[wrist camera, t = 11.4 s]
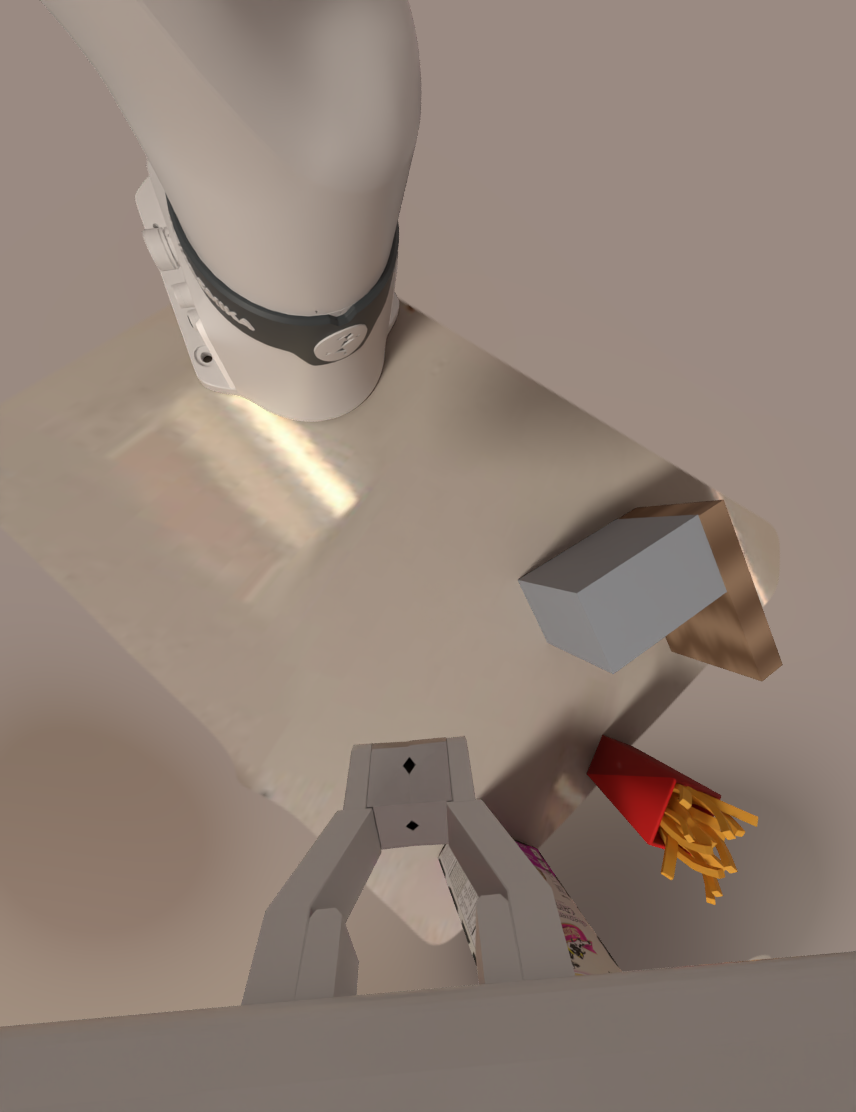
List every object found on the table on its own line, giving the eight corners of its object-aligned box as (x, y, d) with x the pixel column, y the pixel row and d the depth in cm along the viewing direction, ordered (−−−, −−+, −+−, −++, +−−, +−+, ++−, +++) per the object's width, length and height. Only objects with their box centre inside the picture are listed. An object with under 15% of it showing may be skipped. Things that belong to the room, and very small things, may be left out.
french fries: (641, 741, 46) (786, 834, 32) (615, 806, 46) (751, 931, 31) (585, 719, 44) (714, 809, 29) (557, 787, 43) (674, 913, 29)
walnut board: (616, 519, 44) (699, 514, 34) (636, 507, 44) (723, 499, 35) (671, 651, 47) (761, 681, 37) (689, 638, 47) (782, 664, 38)
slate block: (517, 579, 41) (576, 593, 31) (615, 519, 44) (698, 514, 34) (547, 642, 42) (613, 674, 33) (640, 579, 45) (727, 591, 35)
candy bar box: (538, 844, 43) (663, 1024, 27) (518, 886, 43) (632, 1093, 27) (457, 812, 40) (544, 992, 24) (434, 857, 40) (507, 1069, 24)
